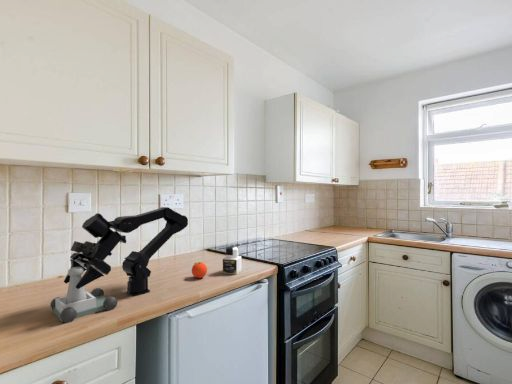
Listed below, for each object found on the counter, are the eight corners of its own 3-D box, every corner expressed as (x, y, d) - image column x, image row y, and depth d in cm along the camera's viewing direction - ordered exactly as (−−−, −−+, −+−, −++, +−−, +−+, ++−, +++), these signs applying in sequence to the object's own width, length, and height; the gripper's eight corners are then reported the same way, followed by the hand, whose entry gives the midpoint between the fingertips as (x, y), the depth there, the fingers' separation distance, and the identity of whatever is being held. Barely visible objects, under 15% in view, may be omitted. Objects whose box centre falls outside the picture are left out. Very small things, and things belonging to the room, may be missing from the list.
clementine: (187, 277, 129) (187, 261, 129) (200, 274, 134) (200, 259, 134) (197, 281, 124) (197, 264, 124) (210, 277, 129) (210, 261, 129)
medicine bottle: (222, 273, 135) (222, 248, 135) (228, 269, 142) (228, 245, 142) (236, 274, 133) (236, 249, 133) (241, 270, 140) (241, 246, 139)
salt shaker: (85, 302, 97) (85, 264, 97) (88, 307, 92) (87, 267, 92) (65, 306, 93) (64, 267, 93) (66, 312, 89) (66, 271, 89)
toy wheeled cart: (102, 297, 105) (102, 285, 105) (117, 307, 96) (117, 294, 96) (50, 310, 94) (50, 297, 94) (61, 324, 84) (61, 309, 84)
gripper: (76, 229, 101) (39, 267, 93) (100, 234, 90) (61, 277, 81) (99, 248, 108) (66, 284, 99) (124, 254, 97) (91, 296, 88)
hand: (70, 285), depth 92 cm, fingers open, 9 cm apart
